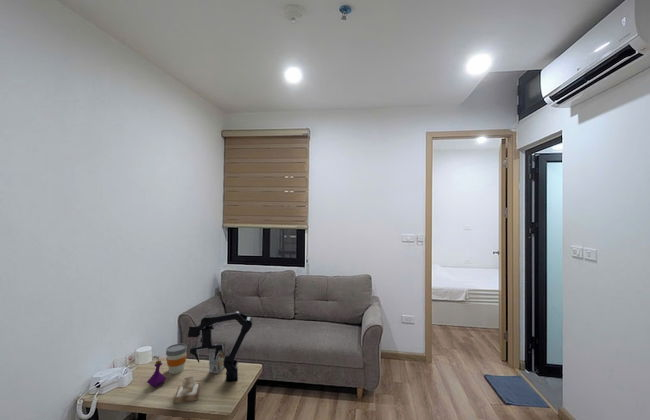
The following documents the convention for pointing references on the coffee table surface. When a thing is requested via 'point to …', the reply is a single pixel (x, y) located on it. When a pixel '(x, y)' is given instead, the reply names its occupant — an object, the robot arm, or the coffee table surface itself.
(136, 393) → the coffee table surface
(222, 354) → the coffee box
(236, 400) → the coffee table surface
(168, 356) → the reusable coffee cup
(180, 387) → the base slab
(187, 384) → the oak block
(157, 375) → the perfume bottle
